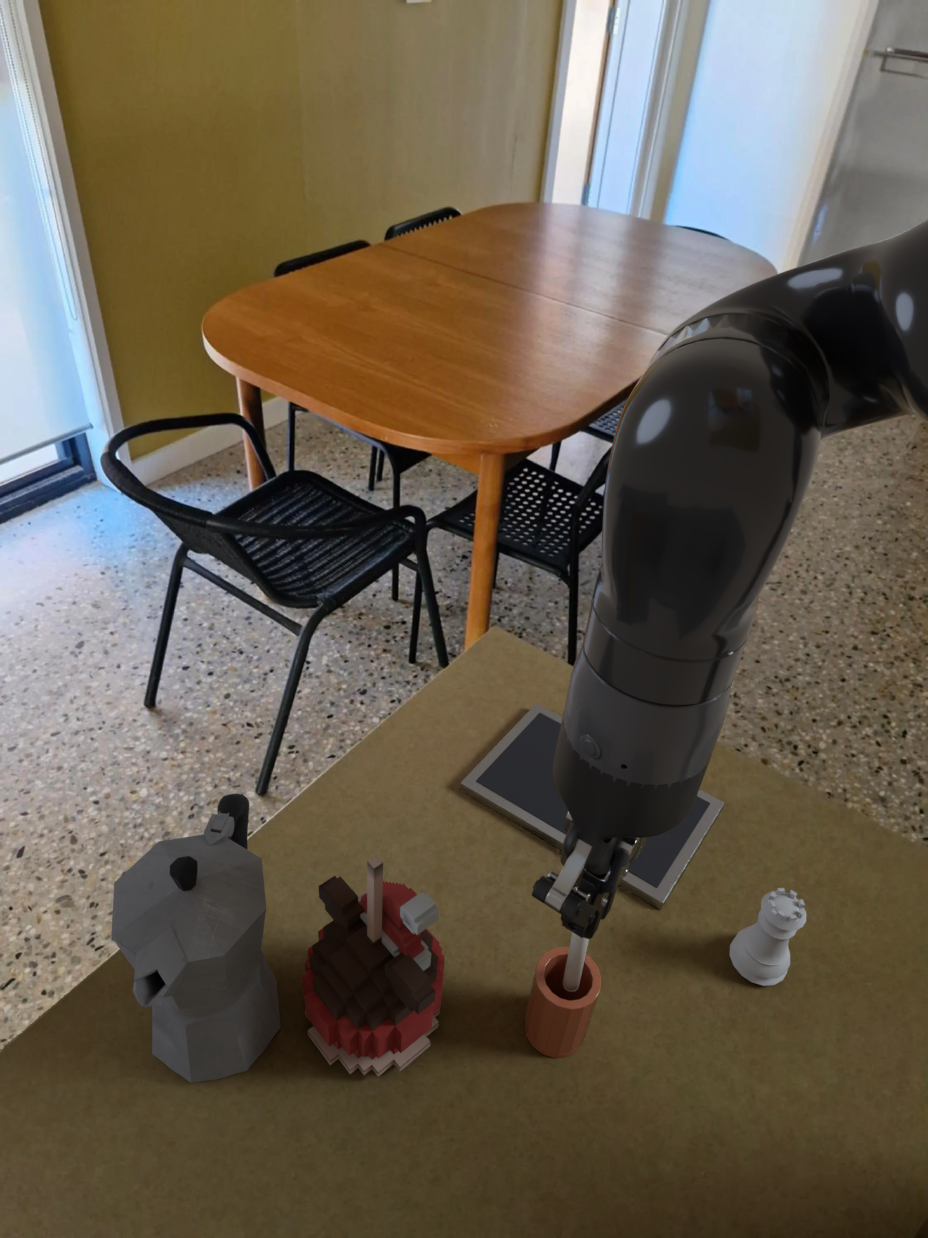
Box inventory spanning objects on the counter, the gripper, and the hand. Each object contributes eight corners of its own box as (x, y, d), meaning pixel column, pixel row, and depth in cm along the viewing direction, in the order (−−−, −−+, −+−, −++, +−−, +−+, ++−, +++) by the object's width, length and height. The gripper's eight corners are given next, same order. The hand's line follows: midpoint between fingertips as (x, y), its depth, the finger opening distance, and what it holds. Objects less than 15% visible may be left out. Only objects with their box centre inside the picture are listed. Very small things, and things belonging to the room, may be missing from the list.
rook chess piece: (716, 957, 69) (743, 898, 64) (750, 925, 71) (779, 866, 66) (764, 1001, 66) (796, 943, 61) (797, 966, 69) (831, 908, 64)
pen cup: (596, 1021, 64) (612, 971, 60) (565, 1071, 61) (580, 1022, 57) (544, 986, 66) (556, 934, 62) (512, 1033, 63) (523, 982, 59)
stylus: (581, 986, 60) (607, 865, 52) (573, 998, 59) (598, 878, 51) (567, 977, 60) (590, 856, 52) (559, 989, 60) (581, 869, 52)
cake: (277, 997, 64) (257, 844, 53) (380, 923, 69) (382, 769, 58) (366, 1118, 58) (365, 975, 47) (471, 1027, 63) (494, 879, 52)
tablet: (722, 809, 80) (725, 801, 80) (660, 910, 72) (663, 902, 71) (535, 710, 89) (536, 702, 88) (459, 789, 80) (460, 781, 79)
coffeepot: (250, 1130, 57) (221, 986, 46) (110, 1103, 58) (47, 956, 46) (316, 919, 69) (305, 764, 58) (199, 899, 70) (166, 742, 58)
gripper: (647, 851, 38) (584, 1042, 49) (760, 682, 47) (685, 876, 58) (501, 767, 41) (472, 964, 52) (633, 623, 50) (584, 818, 61)
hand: (584, 917), depth 55 cm, fingers closed on stylus, 1 cm apart
